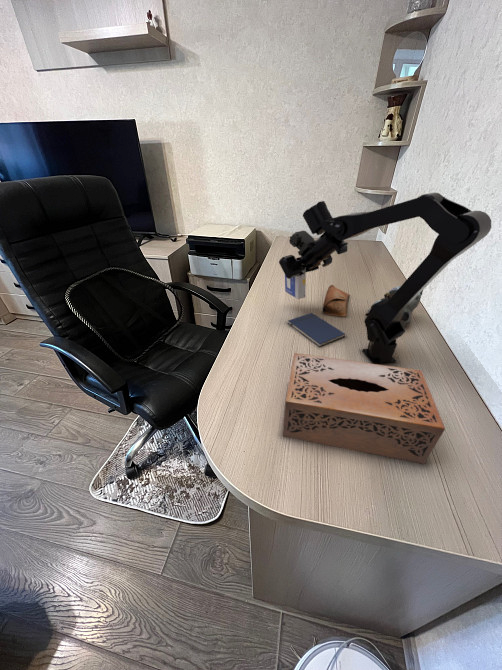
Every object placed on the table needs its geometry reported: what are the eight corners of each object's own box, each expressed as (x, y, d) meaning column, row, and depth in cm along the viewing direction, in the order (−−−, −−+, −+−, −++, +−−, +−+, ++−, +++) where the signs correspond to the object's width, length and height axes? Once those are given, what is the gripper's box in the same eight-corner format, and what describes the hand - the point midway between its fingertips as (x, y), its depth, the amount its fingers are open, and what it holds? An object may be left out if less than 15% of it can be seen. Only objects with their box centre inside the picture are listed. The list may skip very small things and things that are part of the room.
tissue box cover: (406, 404, 62) (421, 370, 56) (423, 463, 50) (445, 428, 45) (291, 385, 67) (294, 352, 61) (282, 435, 55) (285, 401, 50)
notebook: (344, 337, 84) (345, 333, 83) (319, 347, 80) (319, 343, 79) (311, 315, 95) (312, 312, 94) (287, 323, 90) (288, 320, 90)
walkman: (285, 291, 96) (284, 258, 90) (291, 289, 97) (291, 255, 91) (298, 299, 90) (298, 264, 84) (305, 297, 91) (306, 262, 85)
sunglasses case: (347, 316, 93) (340, 299, 90) (327, 322, 96) (320, 306, 94) (349, 294, 107) (343, 278, 105) (332, 300, 110) (325, 285, 108)
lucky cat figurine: (361, 308, 98) (383, 272, 94) (391, 322, 99) (414, 287, 95) (378, 319, 84) (405, 276, 80) (412, 335, 85) (440, 294, 81)
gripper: (330, 218, 83) (299, 247, 96) (285, 228, 73) (258, 259, 87) (347, 251, 82) (314, 275, 96) (304, 265, 73) (274, 290, 86)
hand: (291, 274), depth 91 cm, fingers closed on walkman, 3 cm apart
